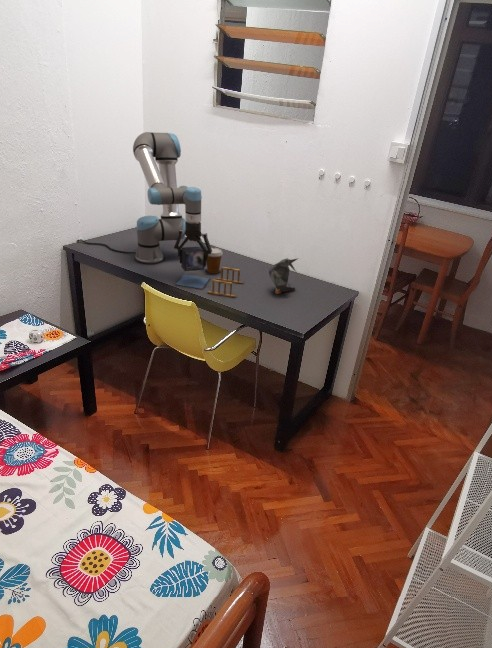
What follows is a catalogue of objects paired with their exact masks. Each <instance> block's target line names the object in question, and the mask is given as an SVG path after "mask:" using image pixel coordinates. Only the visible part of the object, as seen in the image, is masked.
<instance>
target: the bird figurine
mask: <svg viewBox="0 0 492 648" xmlns="http://www.w3.org/2000/svg"><path fill="white" fill-rule="evenodd" d="M297 260H299V257H298V258H294V259H293V258H292V259H290V258H289V257H287V258H284V259H281V260H280V261H278V262H276V263H275V264H273V265H272V267H270V268H269V271H268V275H269V279H270V280H271V282H272V283H273V285H274V286H275V291H274V293H275V294H277V295H280V294H282V293H284V292H285V293H286V292H294V291H296V287H295V286H292V285H291V284H289V283H288V281H289V276H290V268H291V269H292V270H293V271H294V272H295V273H296V274H297V271H296V269H295V267H294V265H293V263H294V262H296V261H297Z"/></svg>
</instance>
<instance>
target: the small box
mask: <svg viewBox="0 0 492 648" xmlns="http://www.w3.org/2000/svg"><path fill="white" fill-rule="evenodd" d="M181 249H182V263H181V266H180V267H181V268H182V270H183V271H184V272H193V271H194V272H195V271H205V267H203V266H204V254H205V253H204V251H203V250H202V248H201V246H200V245H199V246H183V247H182V248H181Z"/></svg>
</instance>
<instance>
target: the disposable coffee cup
mask: <svg viewBox="0 0 492 648" xmlns="http://www.w3.org/2000/svg"><path fill="white" fill-rule="evenodd" d="M211 249H212V253H211V254H208V260H206V270H207V272H208V273H209V274H218V273H219V272H220V268H221V261H222V256H223V250H222V249H221V248H218V247H211Z"/></svg>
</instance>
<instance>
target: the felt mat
mask: <svg viewBox="0 0 492 648" xmlns="http://www.w3.org/2000/svg"><path fill="white" fill-rule="evenodd" d="M208 282H210V277H204V276H199V275H192V274H186V273H184V274H183V275H182V276H181V277H180V279H179V280H178V281H177V282H176V283H175V286H178V287H179V286H180V287H186V288H190V289H191V288H192V289H199V290H203V289H204V288H205V286H206V285H207V283H208Z"/></svg>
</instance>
